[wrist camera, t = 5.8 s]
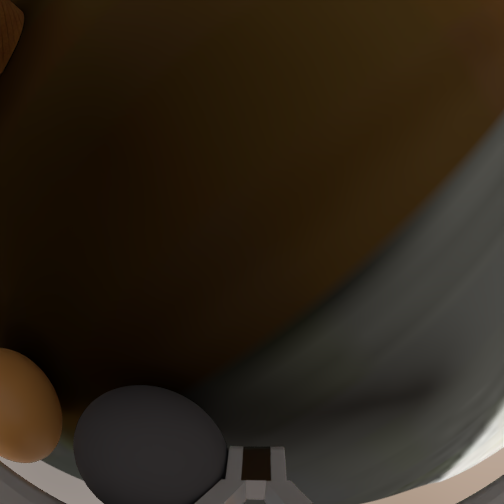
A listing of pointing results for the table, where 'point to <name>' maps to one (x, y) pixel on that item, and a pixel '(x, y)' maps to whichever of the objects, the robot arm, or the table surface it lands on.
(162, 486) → the dark gray ball
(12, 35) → the disposable coffee cup
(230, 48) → the table surface
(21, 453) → the orange ball
